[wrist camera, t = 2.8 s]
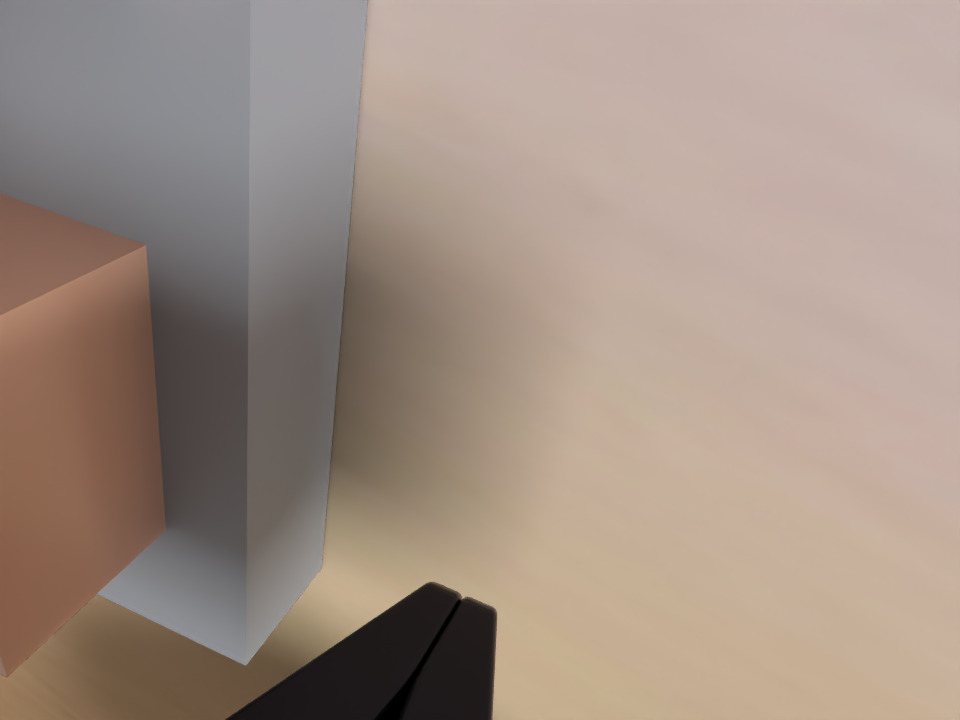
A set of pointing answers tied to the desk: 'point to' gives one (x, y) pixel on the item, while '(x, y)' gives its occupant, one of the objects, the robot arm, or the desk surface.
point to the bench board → (209, 263)
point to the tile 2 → (71, 420)
